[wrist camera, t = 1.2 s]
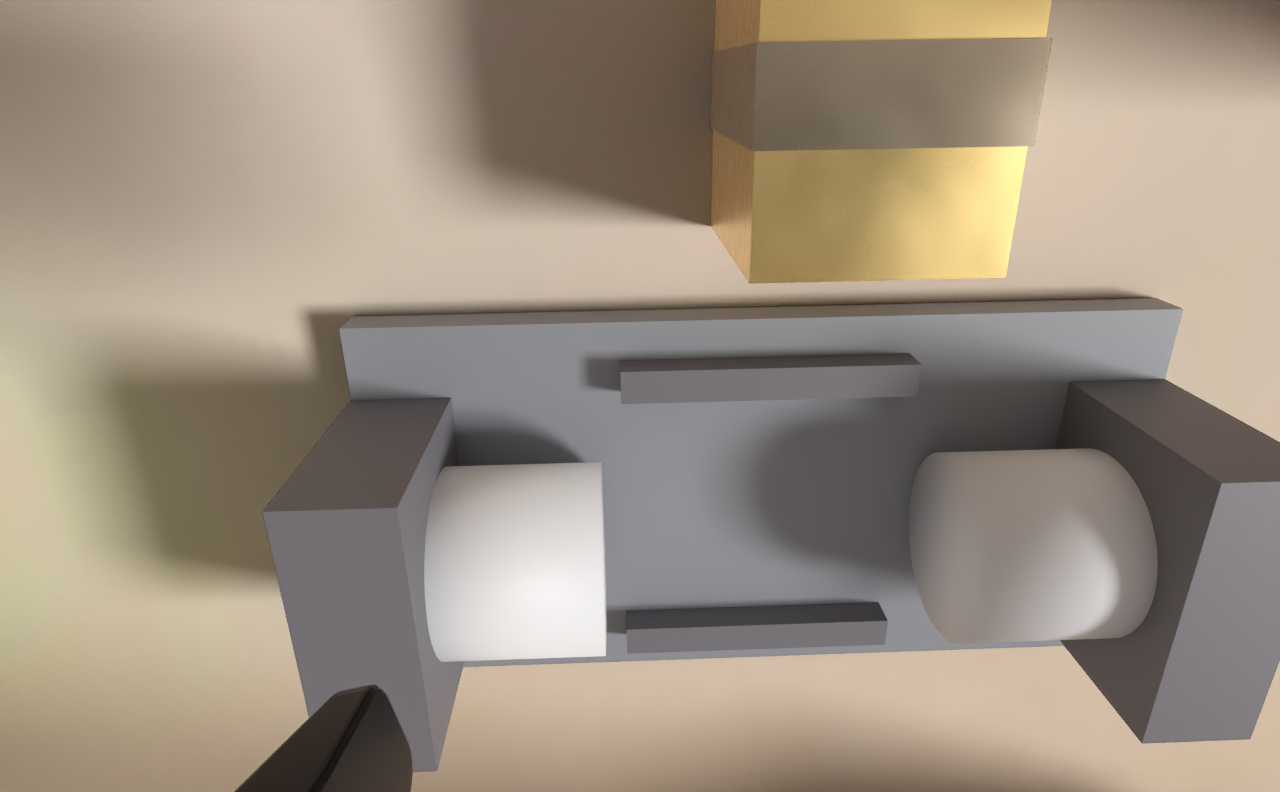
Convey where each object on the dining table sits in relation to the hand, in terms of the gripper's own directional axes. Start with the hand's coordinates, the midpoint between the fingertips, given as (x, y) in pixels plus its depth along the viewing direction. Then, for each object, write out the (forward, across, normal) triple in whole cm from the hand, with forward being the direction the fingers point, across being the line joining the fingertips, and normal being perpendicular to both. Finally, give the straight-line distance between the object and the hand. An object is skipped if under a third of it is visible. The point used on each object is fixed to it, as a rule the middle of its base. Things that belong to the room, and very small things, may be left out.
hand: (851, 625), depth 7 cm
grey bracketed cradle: (+13, 0, +6) cm, 14 cm away
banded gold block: (+13, -3, -4) cm, 14 cm away
